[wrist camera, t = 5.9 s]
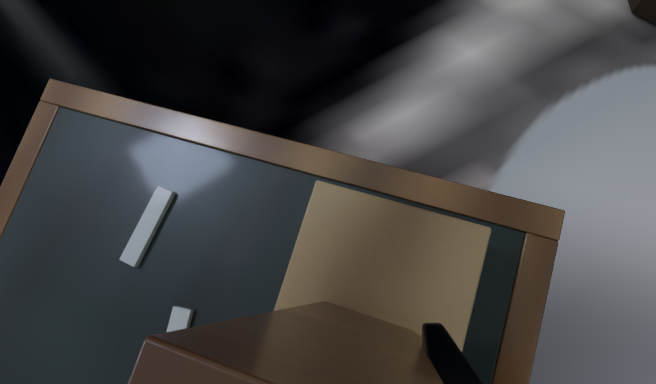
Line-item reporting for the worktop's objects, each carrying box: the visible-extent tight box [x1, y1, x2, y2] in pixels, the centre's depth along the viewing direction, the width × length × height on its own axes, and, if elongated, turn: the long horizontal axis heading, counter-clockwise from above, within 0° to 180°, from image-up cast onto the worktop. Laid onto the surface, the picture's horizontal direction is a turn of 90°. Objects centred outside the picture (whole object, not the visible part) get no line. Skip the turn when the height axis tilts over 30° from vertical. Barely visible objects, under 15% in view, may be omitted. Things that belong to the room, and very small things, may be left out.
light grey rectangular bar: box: [119, 185, 176, 267], centre depth 18 cm, size 1×4×1 cm, turn 155°
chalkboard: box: [0, 79, 565, 384], centre depth 17 cm, size 24×15×1 cm, turn 72°
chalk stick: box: [167, 306, 194, 332], centre depth 16 cm, size 1×4×1 cm, turn 168°
